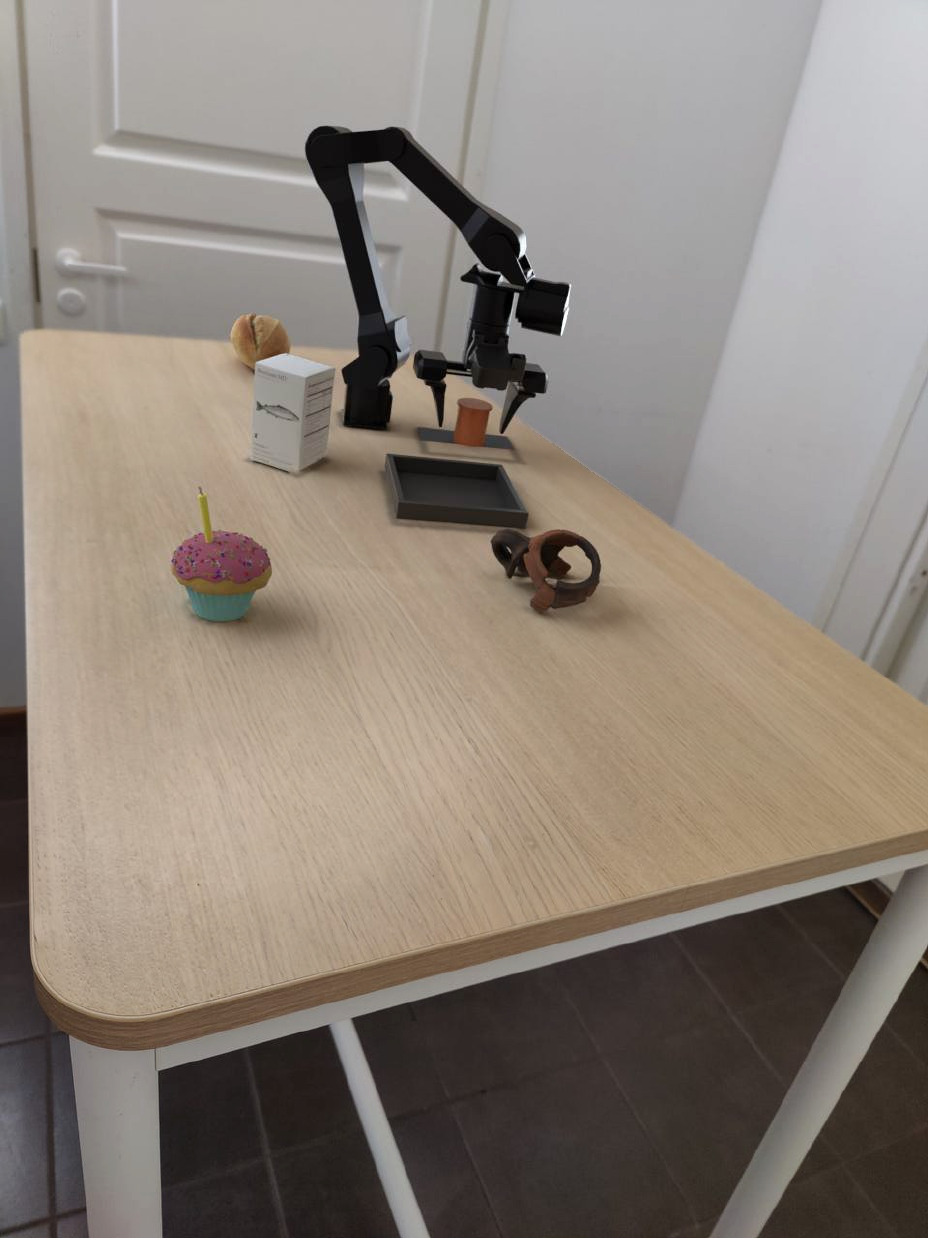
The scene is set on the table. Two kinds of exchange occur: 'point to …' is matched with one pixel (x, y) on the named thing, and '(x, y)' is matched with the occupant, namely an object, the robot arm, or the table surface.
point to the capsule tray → (453, 492)
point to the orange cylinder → (471, 422)
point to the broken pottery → (547, 565)
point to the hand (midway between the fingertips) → (470, 429)
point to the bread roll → (259, 338)
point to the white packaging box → (291, 411)
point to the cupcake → (220, 570)
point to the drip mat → (448, 435)
